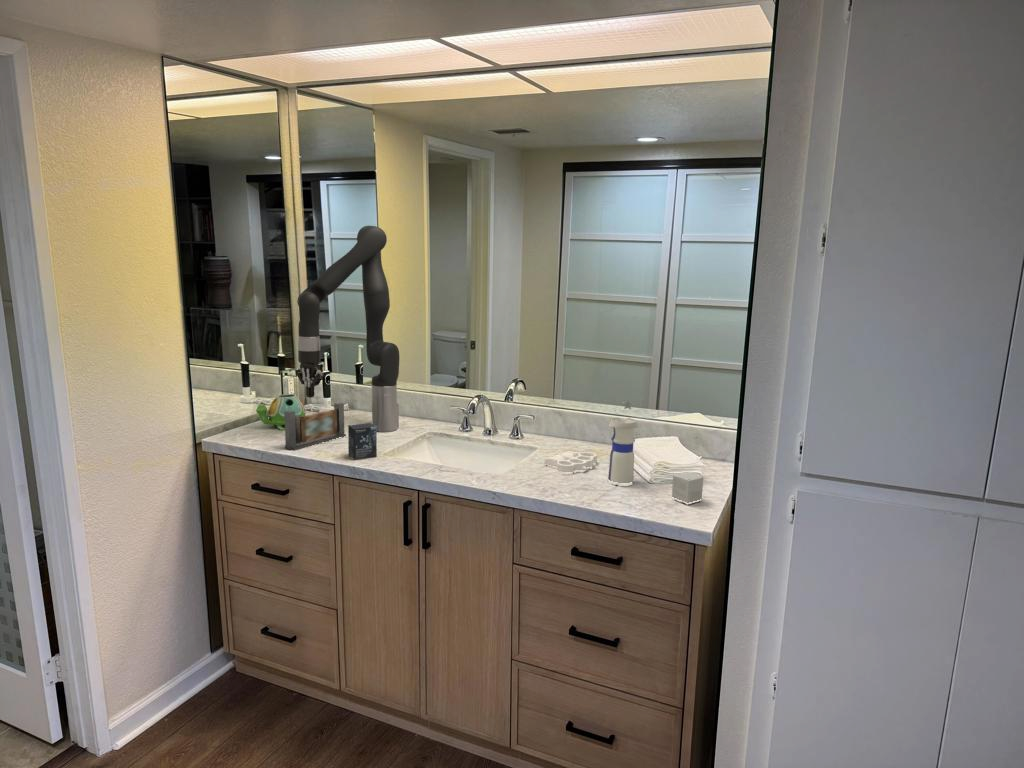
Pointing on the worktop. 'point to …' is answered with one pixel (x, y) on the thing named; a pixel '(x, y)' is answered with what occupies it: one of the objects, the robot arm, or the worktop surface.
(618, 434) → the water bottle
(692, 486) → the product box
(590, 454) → the knuckle duster
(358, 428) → the box
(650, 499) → the worktop surface
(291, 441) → the gate frame
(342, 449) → the worktop surface
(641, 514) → the worktop surface
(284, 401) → the turtle holder
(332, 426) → the gate
